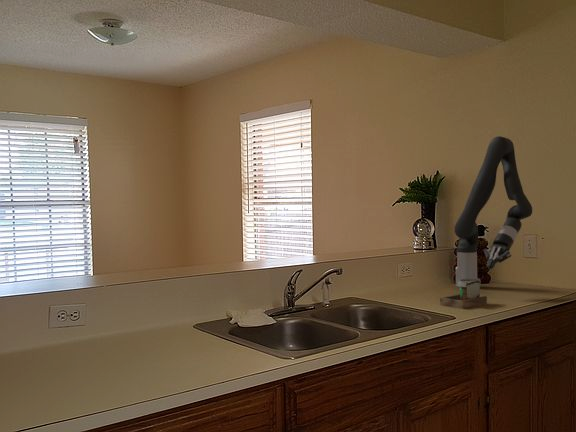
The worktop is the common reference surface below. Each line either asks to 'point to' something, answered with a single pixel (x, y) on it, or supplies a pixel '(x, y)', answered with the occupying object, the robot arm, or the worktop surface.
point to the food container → (469, 288)
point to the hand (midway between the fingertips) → (488, 267)
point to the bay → (457, 303)
